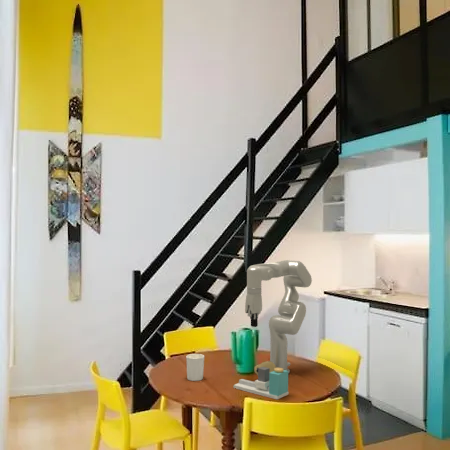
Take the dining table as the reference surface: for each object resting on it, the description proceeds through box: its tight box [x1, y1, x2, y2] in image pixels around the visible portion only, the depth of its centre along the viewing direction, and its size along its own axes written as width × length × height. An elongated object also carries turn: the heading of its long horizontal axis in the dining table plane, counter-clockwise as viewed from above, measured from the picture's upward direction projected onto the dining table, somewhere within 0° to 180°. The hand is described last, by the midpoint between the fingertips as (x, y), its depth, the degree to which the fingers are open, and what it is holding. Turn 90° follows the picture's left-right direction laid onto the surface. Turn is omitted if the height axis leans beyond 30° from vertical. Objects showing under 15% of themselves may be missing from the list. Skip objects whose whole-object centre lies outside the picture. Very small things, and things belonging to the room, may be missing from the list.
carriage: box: [254, 367, 270, 390], centre depth 247 cm, size 7×6×10 cm
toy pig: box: [253, 360, 276, 376], centre depth 264 cm, size 10×12×11 cm
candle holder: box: [185, 353, 205, 382], centre depth 267 cm, size 10×10×12 cm
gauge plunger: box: [274, 368, 284, 373], centre depth 242 cm, size 4×4×7 cm
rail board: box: [233, 370, 289, 400], centre depth 248 cm, size 10×26×12 cm, turn 52°
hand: (254, 326), depth 261 cm, fingers closed
